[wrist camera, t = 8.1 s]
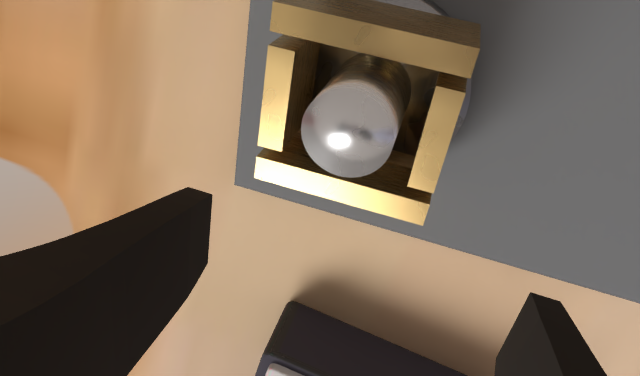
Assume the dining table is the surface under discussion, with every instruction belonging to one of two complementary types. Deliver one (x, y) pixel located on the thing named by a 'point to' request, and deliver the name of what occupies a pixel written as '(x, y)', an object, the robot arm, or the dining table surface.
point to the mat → (520, 142)
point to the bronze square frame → (373, 39)
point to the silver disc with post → (368, 106)
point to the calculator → (336, 350)
